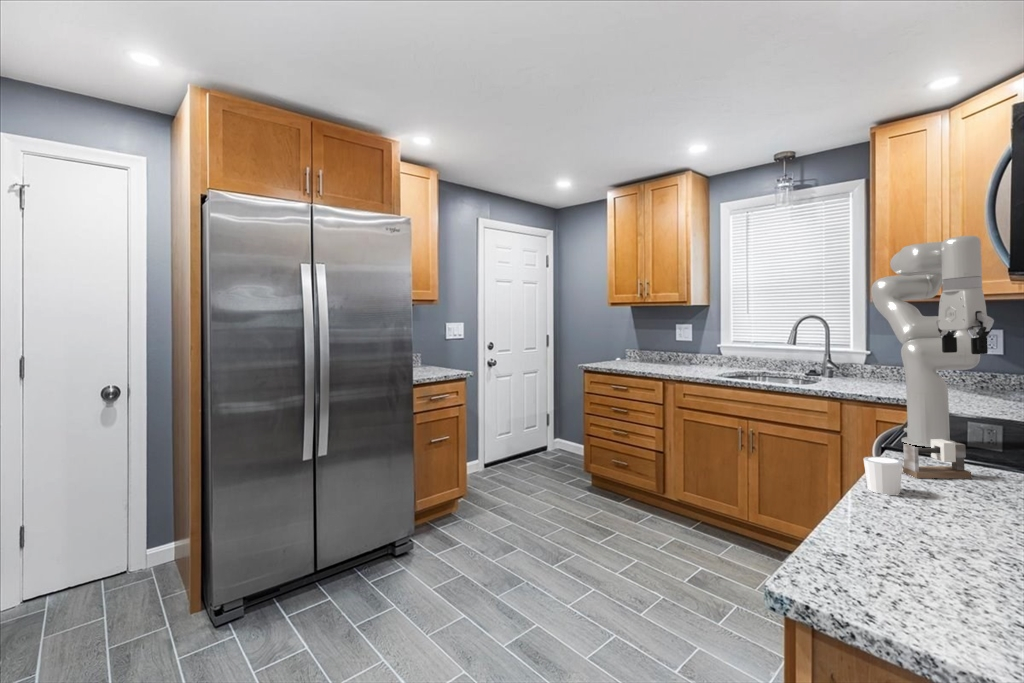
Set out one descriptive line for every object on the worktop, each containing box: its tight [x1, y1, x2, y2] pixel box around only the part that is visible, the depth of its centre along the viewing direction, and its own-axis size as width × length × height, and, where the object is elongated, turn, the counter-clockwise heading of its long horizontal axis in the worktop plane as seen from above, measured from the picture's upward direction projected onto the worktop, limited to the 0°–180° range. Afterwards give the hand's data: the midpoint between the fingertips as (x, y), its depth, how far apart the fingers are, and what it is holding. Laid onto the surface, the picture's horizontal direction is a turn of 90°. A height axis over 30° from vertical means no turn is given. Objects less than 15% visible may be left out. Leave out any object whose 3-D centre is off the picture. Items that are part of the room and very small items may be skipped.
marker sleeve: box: [930, 439, 956, 463], centre depth 117 cm, size 4×2×4 cm, turn 172°
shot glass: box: [863, 456, 904, 496], centre depth 108 cm, size 7×7×7 cm
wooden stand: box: [902, 442, 972, 480], centre depth 118 cm, size 5×12×8 cm, turn 82°
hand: (964, 353), depth 125 cm, fingers open, 9 cm apart
